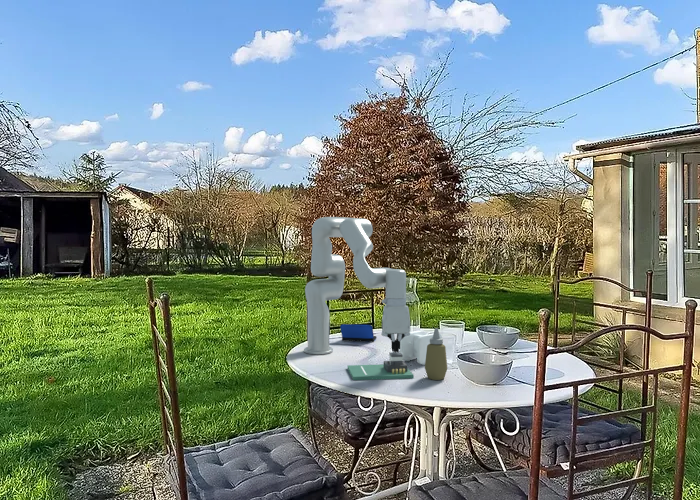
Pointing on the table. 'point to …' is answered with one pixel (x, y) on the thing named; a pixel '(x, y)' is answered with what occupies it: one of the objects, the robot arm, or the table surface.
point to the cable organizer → (415, 346)
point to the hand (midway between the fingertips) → (395, 351)
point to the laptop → (357, 332)
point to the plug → (395, 358)
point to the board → (380, 371)
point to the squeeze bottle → (436, 358)
